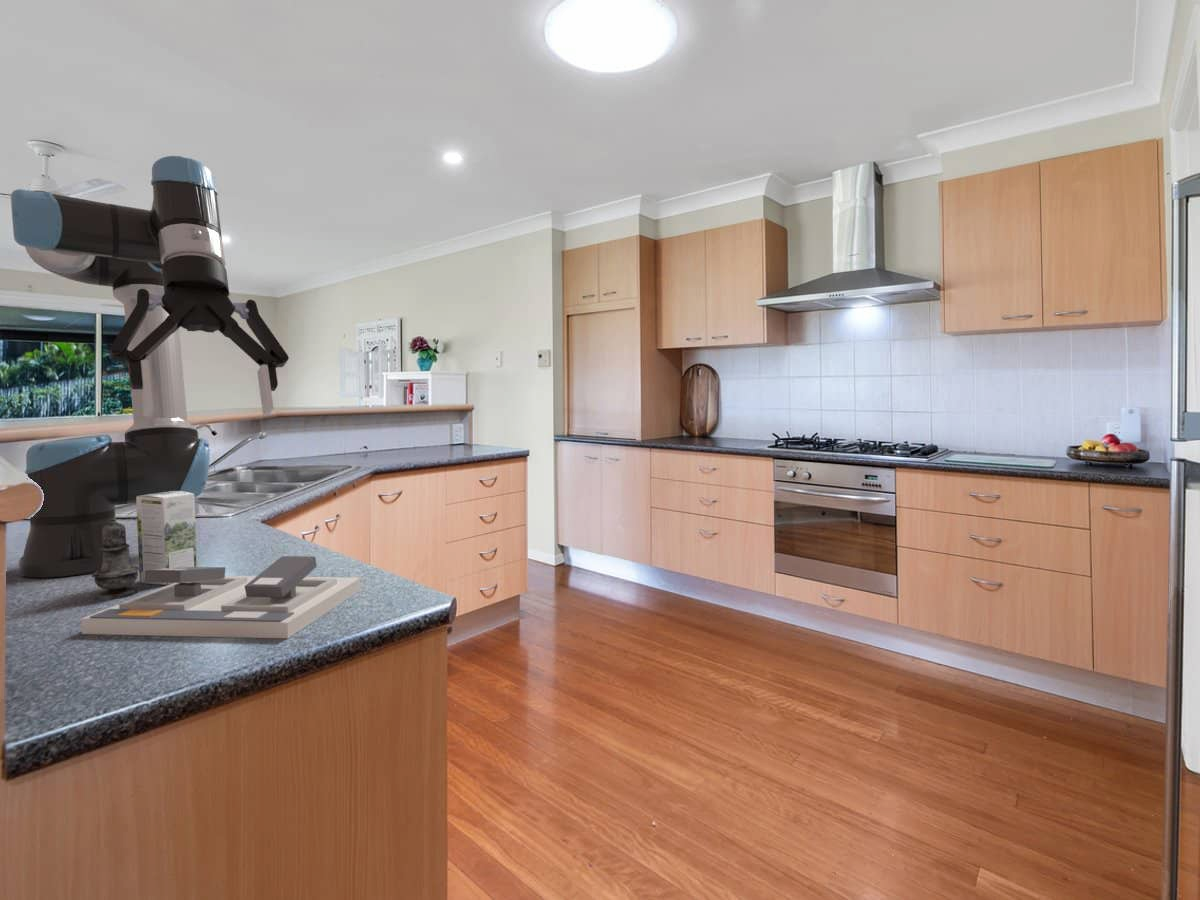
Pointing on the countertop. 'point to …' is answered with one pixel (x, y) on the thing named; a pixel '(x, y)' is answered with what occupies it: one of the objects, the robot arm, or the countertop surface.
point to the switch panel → (222, 609)
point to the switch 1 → (184, 574)
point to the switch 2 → (280, 576)
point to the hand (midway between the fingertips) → (211, 412)
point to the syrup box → (166, 531)
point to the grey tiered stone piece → (115, 564)
